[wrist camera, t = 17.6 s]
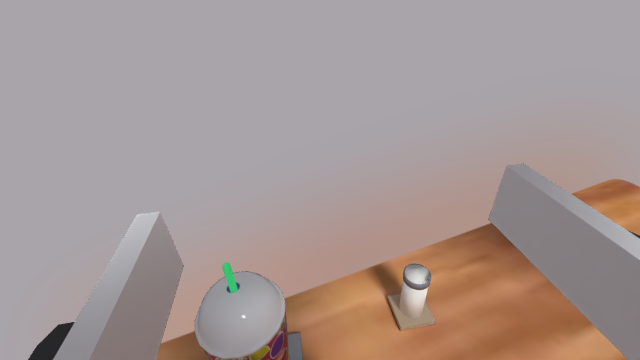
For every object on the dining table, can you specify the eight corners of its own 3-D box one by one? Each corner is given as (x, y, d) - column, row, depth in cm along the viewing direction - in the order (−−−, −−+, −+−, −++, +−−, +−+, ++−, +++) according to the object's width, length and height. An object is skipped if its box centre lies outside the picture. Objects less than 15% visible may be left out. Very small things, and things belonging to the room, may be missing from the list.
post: (418, 293, 45) (426, 256, 40) (434, 324, 41) (445, 286, 36) (387, 299, 44) (391, 262, 40) (400, 330, 40) (406, 293, 36)
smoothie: (224, 359, 37) (174, 246, 27) (287, 335, 40) (265, 221, 29) (231, 438, 31) (169, 329, 20) (307, 403, 33) (288, 288, 22)
